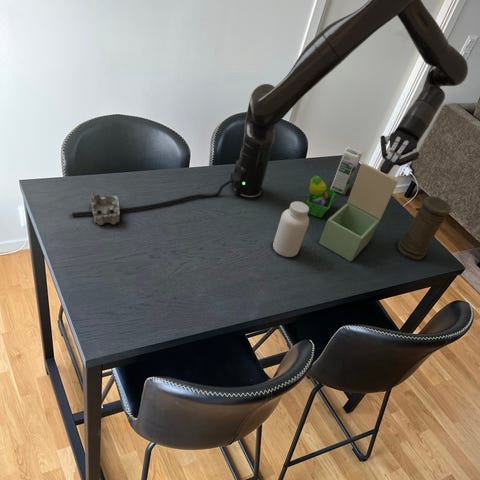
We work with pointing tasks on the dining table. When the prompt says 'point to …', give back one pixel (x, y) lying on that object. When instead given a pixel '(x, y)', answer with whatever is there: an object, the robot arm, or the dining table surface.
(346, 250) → the caddy
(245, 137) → the robot arm
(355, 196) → the lid
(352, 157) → the syrup box
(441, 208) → the container
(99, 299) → the dining table surface
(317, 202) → the fruit basket
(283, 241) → the pill bottle
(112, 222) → the egg carton
